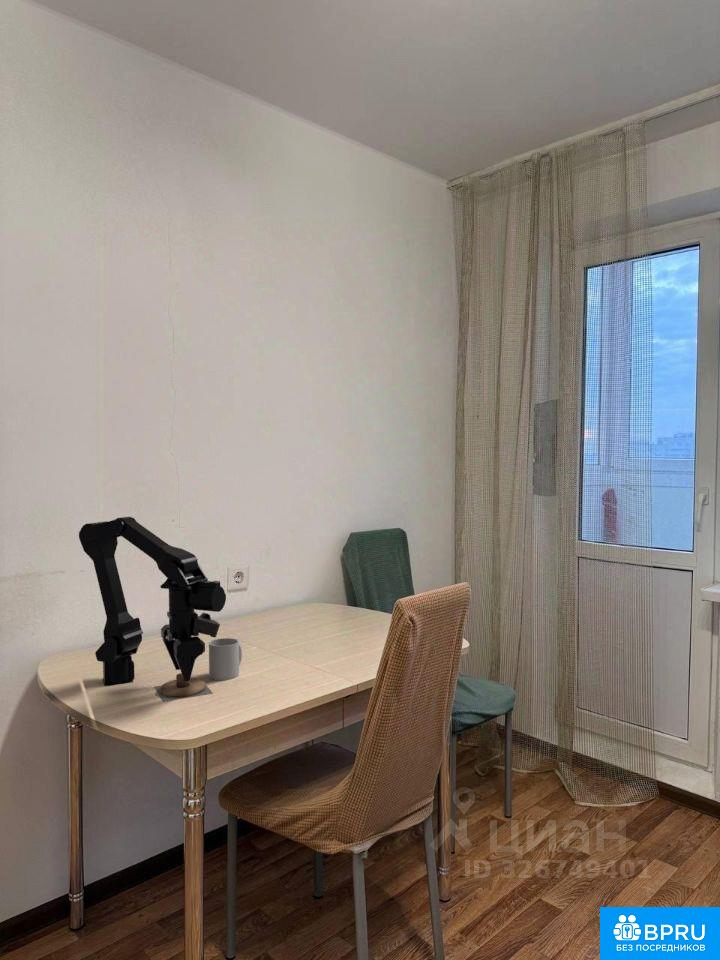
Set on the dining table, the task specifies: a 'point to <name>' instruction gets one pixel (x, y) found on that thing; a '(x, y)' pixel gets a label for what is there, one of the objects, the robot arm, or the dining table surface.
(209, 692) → the mat
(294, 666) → the dining table surface
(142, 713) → the dining table surface
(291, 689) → the dining table surface
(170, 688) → the lid
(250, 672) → the dining table surface
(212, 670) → the cup
